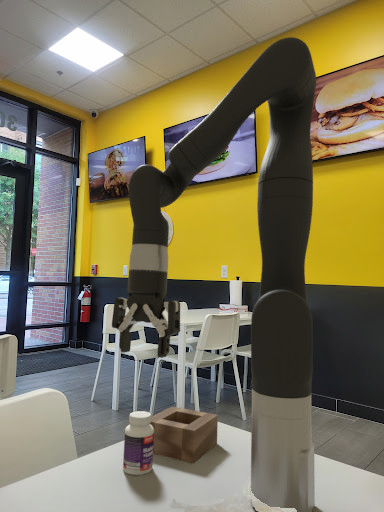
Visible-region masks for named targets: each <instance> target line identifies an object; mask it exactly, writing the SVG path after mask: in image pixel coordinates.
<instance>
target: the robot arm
mask: <svg viewBox="0 0 384 512" xmlns="http://www.w3.org/2000/svg"><path fill="white" fill-rule="evenodd" d="M316 88H317V75H316V70H315V66H314V62H313V57H312V54H311V51H310V48H309V46H308V45H307V43H306V42H305V41H304V40H302V39H300V38H298V37H294V36H293V37H292V36H291V37H290V36H289V37H284V38H283V37H282V38H281V39H278V40H277V41H275V42H273V43H271V44H270V45H269V46H268V47H267V48H265V50H264V51H263V52H262V53H261V54H260V55H259V56H258V57H257V58H256V60H255V61H254V62H253V63H252V64H251V65H250V67H248V69H247V70H246V71H245V73H244V74H243V75H242V76H241V77H240V78H239V79H238V81H236V83H235V84H234V85H233V86H232V87H231V89H230V90H229V91H228V92H227V94H226V95H225V96H224V97H223V98H222V99H221V101H219V102H218V104H217V105H216V106H215V107H214V108H213V109H212V110H211V112H210V113H209V114H208V115H207V116H205V118H204V119H202V121H200V122H199V123H198V124H197V125H196V126H195V127H194V128H193V129H191V130H190V131H189V132H187V134H185V135H184V137H182V138H181V139H180V140H179V141H178V142H176V143H175V145H174V146H172V147H171V148H170V150H169V151H168V156H167V157H168V161H169V165H167V167H166V168H165V169H164V170H163V171H162V170H160V169H159V168H158V167H155V166H154V165H151V164H141V165H140V166H137V168H135V170H133V172H132V174H131V176H130V177H129V183H128V199H129V200H128V201H129V205H130V206H129V207H130V213H131V217H132V223H133V227H132V239H131V240H132V241H131V249H130V254H129V263H128V264H129V265H128V278H127V292H128V298H126V297H115V298H114V302H113V312H112V317H111V318H112V321H111V328H113V329H116V330H118V331H119V349H120V352H121V353H128V352H130V351H131V347H132V346H131V344H132V343H131V342H132V329H133V328H134V327H135V325H136V324H138V323H141V322H144V323H148V324H149V323H151V324H152V326H153V327H154V328H155V329H156V331H157V333H158V334H159V336H158V338H157V339H158V341H157V344H158V345H157V358H160V359H161V358H166V357H167V355H168V354H169V352H170V346H171V345H170V344H171V342H170V341H171V336H174V335H177V334H179V333H180V331H181V302H180V300H179V301H178V300H170V301H167V300H166V294H167V290H168V289H167V288H168V274H169V270H168V269H169V252H168V250H169V237H170V236H169V234H170V232H169V231H170V229H169V228H170V227H169V222H168V220H167V218H166V217H164V215H163V213H162V208H166V207H168V206H170V205H172V204H174V203H175V202H176V201H177V200H178V199H179V198H180V197H181V195H183V193H184V191H186V189H187V187H188V186H189V185H190V184H191V183H192V181H193V180H194V178H195V177H196V176H197V175H199V174H200V173H201V172H203V171H204V170H205V169H206V168H207V167H209V166H210V165H211V164H212V163H213V162H214V161H216V160H217V159H218V158H219V157H220V156H221V155H222V154H223V153H224V152H225V150H226V149H227V148H228V146H229V145H230V144H231V142H232V141H233V139H234V138H235V136H236V135H237V133H238V132H239V130H240V128H241V127H242V125H243V124H244V123H245V122H246V121H247V120H248V118H249V117H250V116H251V115H252V114H253V113H254V112H255V111H256V110H257V109H258V108H260V106H261V105H263V104H265V103H266V102H267V104H268V116H269V117H268V119H269V138H268V142H267V145H266V146H267V147H266V149H265V150H266V151H265V153H264V155H263V158H262V161H261V165H260V169H259V172H258V174H259V175H258V181H257V182H258V183H257V203H256V204H257V226H258V236H259V237H258V238H259V244H260V252H261V274H260V275H261V277H260V283H259V284H260V285H259V292H258V298H257V301H256V303H255V304H254V306H253V308H252V313H251V322H250V323H251V324H250V371H251V428H250V429H251V432H250V433H251V434H250V436H251V438H250V441H251V442H250V443H251V444H250V446H251V447H250V488H251V491H252V493H253V494H254V496H255V497H256V498H257V499H259V500H260V501H261V502H263V503H265V504H267V505H268V506H270V507H280V508H295V509H296V510H297V512H313V511H314V509H315V508H314V507H315V503H316V501H315V481H316V480H315V441H314V440H313V439H312V437H313V436H312V430H313V429H312V426H313V425H312V424H313V422H312V420H313V419H312V387H313V386H312V385H313V383H312V382H313V373H314V371H313V368H314V366H313V359H314V358H313V357H314V355H313V354H314V351H313V349H314V344H313V343H314V339H313V337H314V333H313V331H314V330H313V329H314V327H313V326H314V324H313V322H314V321H313V314H312V311H311V308H310V306H309V305H308V300H307V291H306V289H307V288H306V274H305V272H306V271H305V270H306V269H305V266H306V263H305V262H306V255H307V248H308V244H309V239H310V234H311V233H310V232H311V228H312V227H311V226H312V218H313V204H314V203H313V202H314V201H313V199H314V172H313V169H314V168H313V166H314V165H313V151H312V144H311V143H312V142H311V141H312V140H311V139H312V138H311V125H312V118H313V108H314V102H315V96H316V95H315V94H316ZM127 309H128V312H127V313H126V311H127ZM164 311H166V313H167V318H166V317H165V315H164ZM251 491H250V492H251Z"/></svg>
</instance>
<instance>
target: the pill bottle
mask: <svg viewBox="0 0 384 512" xmlns="http://www.w3.org/2000/svg"><path fill="white" fill-rule="evenodd" d="M151 417H152V414H151V413H150V412H149V411H143V410H139V411H133V412H130V413H129V417H128V418H129V419H128V421H129V422H128V423H129V424H128V425H127V426H126V427H125V430H124V440H123V441H124V443H123V463H122V469H123V471H124V472H125V473H126V474H128V475H131V476H143V475H146V474H148V473H150V472H151V471H152V469H153V464H154V453H153V444H154V428H153V426H152V425H150V422H151Z"/></svg>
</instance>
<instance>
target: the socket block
mask: <svg viewBox="0 0 384 512" xmlns="http://www.w3.org/2000/svg"><path fill="white" fill-rule="evenodd" d="M218 416H219V415H218V414H215V413H208V412H204V411H198V410H194V409H193V410H192V409H187V408H182V407H178V406H177V407H176V406H170V407H169V408H166V409H164V410H162V411H160V412H159V413H156V414H154V415H151V422H150V425H152V426H153V428H154V444H153V455H154V454H155V455H158V456H162V457H166V458H170V459H172V460H178V461H182V462H185V463H188V464H195V463H196V462H198V461H199V460H200V459H201V458H202V457H204V455H206V453H208V452H209V451H210V450H212V448H214V447H215V446H216V445H217V444H218V421H219V419H218Z"/></svg>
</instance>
